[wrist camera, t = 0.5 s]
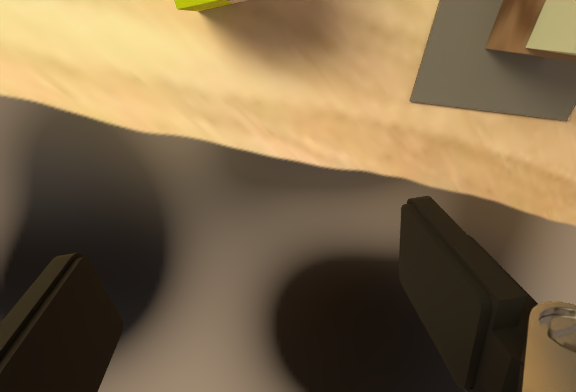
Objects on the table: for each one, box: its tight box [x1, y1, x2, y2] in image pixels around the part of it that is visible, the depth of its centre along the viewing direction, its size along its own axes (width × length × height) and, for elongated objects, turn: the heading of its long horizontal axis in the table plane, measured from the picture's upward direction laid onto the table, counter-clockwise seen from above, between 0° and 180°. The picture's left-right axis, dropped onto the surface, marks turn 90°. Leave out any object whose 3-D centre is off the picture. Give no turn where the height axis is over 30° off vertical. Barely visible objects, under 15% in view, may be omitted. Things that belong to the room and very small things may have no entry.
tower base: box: [485, 0, 576, 62], centre depth 31 cm, size 8×8×5 cm
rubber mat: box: [410, 0, 576, 121], centre depth 34 cm, size 20×20×1 cm
